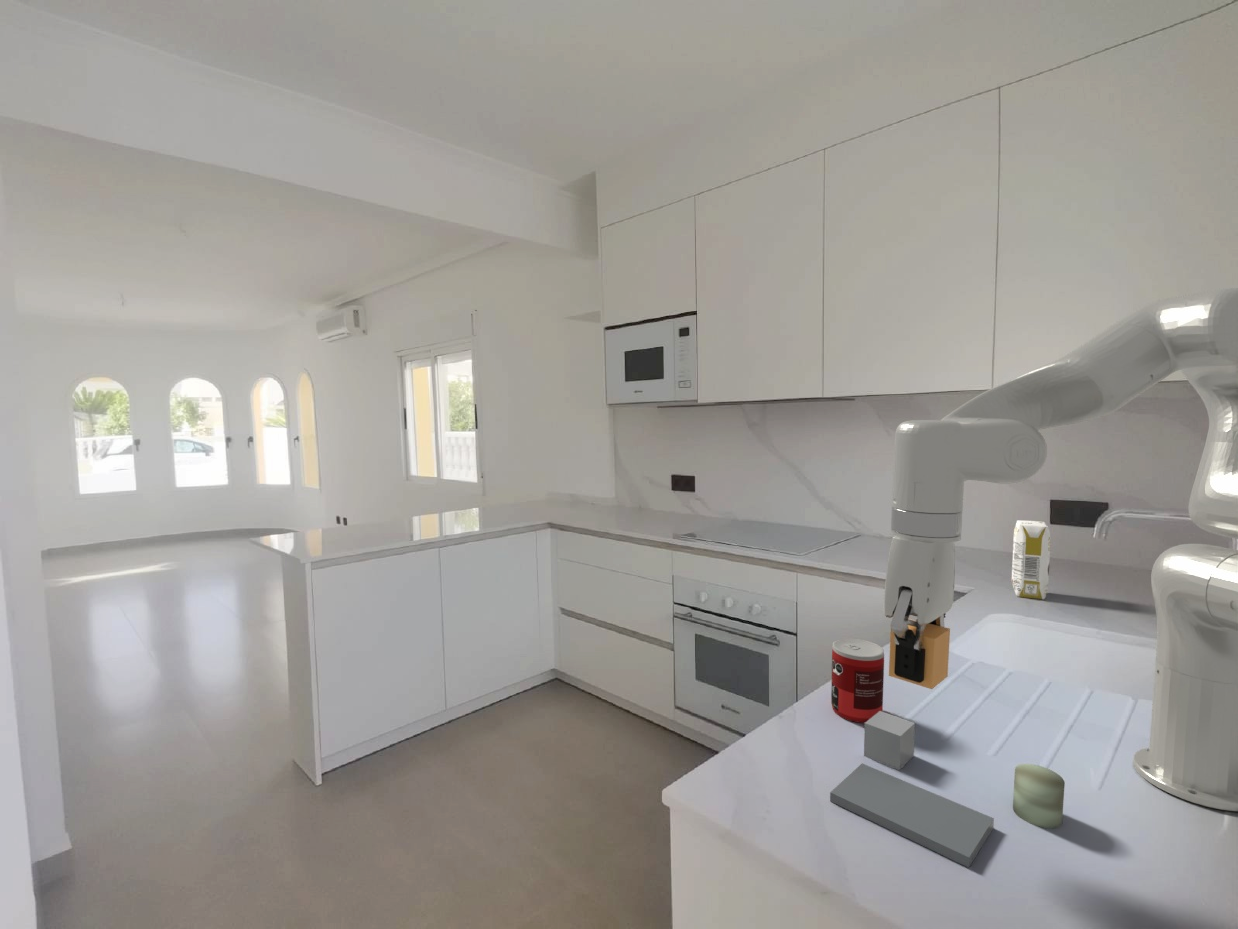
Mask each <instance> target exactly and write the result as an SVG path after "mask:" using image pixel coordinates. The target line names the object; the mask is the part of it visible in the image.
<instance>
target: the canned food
mask: <svg viewBox="0 0 1238 929" xmlns="http://www.w3.org/2000/svg"><path fill="white" fill-rule="evenodd" d="M884 672H885V651H884V649H883V647H882V646H880V645H879V644H877V643H874V642H873V641H869V640H865V639H861V638H860V639H858V638H840V639H837V640H835V641H833V642H832V648H831V688H830V689H831V690H830V691H831V694H830V696H831V697H830V698H831V699H830V702H831V708H832V710H833V712H834V713H835V714H836V715H838V716H839V717H841V718H843V719H845V720H846V721H850V722H855V723H861V724H862V723H863V724H865V722H867V721H868V720H869V719H870V718H872V717H873V716H874V715H875V714H877V713H878V712H879V711H882V712H883V711H884V710H883V707H884V706H883V705H884V704H883V703H884V680H885V679H884V676H885V673H884Z"/></svg>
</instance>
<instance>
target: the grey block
mask: <svg viewBox="0 0 1238 929" xmlns="http://www.w3.org/2000/svg"><path fill="white" fill-rule="evenodd" d="M915 725H916V724H915V722H913V721H909V720H908V719H904V718H902V717H900V716H895V715H892V714H890V713H887V712H884V711H883V710H882V711H879V712H878V713H877V714H875V715H874V716H873V717H872V718H870V719H869V720H868V721H867V722H865V723H864V734H863V735H864V739H863V740H864V741H863V756H864V757H866V758H868V759H871V760H873V761H876V762H878V763H881V764H883V765H885V766H888V767H891V768H892V769H895V770H897V771H900V770H901V769H902V768H903V767H904V766H905V765H906V764H908V762H909V761H910V760H911V759H913V757H914V755H915V734H916V732H915V731H916V730H915Z"/></svg>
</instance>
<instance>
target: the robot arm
mask: <svg viewBox="0 0 1238 929" xmlns="http://www.w3.org/2000/svg"><path fill="white" fill-rule="evenodd" d="M1177 371H1178V372H1179V371H1181V373H1182V374H1183V376H1184V377H1185V378H1186V380H1187V381H1188V383H1189V384H1190V385H1191V386H1192V387H1193V389H1194V390H1195V391H1196V393H1197V394H1198V395H1199V397H1200V399H1201V400H1202V402H1203V405H1204V406H1205V408H1206V409H1205V410H1207V411H1206V413H1207V415H1208V431H1207V436H1206V440H1205V444H1204V447H1203V451H1202V455H1201V458H1200V460H1199V461H1200V462H1199V464H1198V469H1197V472H1196V474H1195V479H1194V481H1193V485H1192V488H1191V492H1190V496H1189V500H1188V509H1187V510H1188V516H1189V518H1190V519H1191V521H1192V523H1193V524H1194V525H1195V526H1197V527H1198V528H1199V529H1201V530H1203V531H1205V532H1207V533H1211V534H1215V535H1217V536H1220V537H1221V536H1222V537H1224V538H1225V537H1226V538H1230V539H1235V540H1238V287H1229V288H1221V289H1214V290H1209V291H1205V292H1198V293H1192V294H1191V293H1190V294H1187V295H1186V294H1184V295H1179V296H1174V297H1173V296H1172V297H1170V298H1169V297H1168V298H1164V299H1163V298H1162V299H1158V300H1156V301H1152V302H1150V303H1147V304H1144V305H1142V306H1140V307H1138V308H1136V309H1135V310H1133V311H1131V312H1130V313H1129V314H1126V315H1125V316H1124V317H1122V318H1121V319H1119V320H1118V321H1116V322H1114V323H1113V324H1112V325H1109V327H1107V328H1105V329H1104V330H1102V331H1101V332H1099V333H1098V334H1096V335H1095V336H1093V337H1092V338H1091V339H1089V340H1087V341H1085V343H1083V344H1081V345H1079V346H1078V347H1077V348H1075V349H1074V350H1072V351H1071V352H1070V351H1069V352H1068V353H1067V354H1065V355H1064V356H1062V357H1061V358H1059V359H1056V360H1055V361H1052V362H1050V363H1047V364H1045V365H1043V366H1040V367H1037V368H1035V369H1033V370H1030V371H1028V372H1026V373H1024V374H1022V375H1020V376H1018V377H1015V378H1013V379H1010V380H1008V381H1005V382H1004V383H1001V384H998V385H997V386H994V387H992V388H989V389H988V390H985V391H984V392H981V393H980V394H978V395H976V396H975V397H973V398H971V399H969V400H968V401H966V402H965V403H963V404H961V405H960V406H959V407H957V408H956V409H954V410H952V411H951V412H950V413H948V414H947V415H945V416H944V417H943V418H941V419H917V420H916V419H912V420H905V421H903V422H901V423H899V424H898V426H897V427H896V429H895V433H894V444H893V445H894V448H893V451H894V452H893V468H892V469H893V472H892V492H891V493H892V494H891V495H892V496H891V518H890V519H891V520H890V534H891V535H892V537H891V538H892V539H891V542H890V547H889V553H888V558H887V565H886V573H885V582H884V594H883V604H882V606H883V607H882V610H883V611H882V612H883V614H884V616H885V617H886V618H889V619H891V618H892V619H891V622H890V630H891V629H892V631H893V632H894V634H895V644H896V648H895V670H894V672H895V675H897V676H899V677H902V678H905V679H909V680H912V681H915V682H918V683H921V682H922V681H923V680H924V667H925V649H923V648H922V644H923V637H924V631H925V625H926V624H928V623H929V624H933V625H937V626H941V627H945V618H946V613H947V612H949V611H950V609H951V608H952V606H953V602H954V594H955V581H956V580H955V579H956V578H955V577H956V575H955V574H956V572H955V570H956V558H955V557H956V556H955V555H956V554H955V552H956V551H955V549H956V548H955V542H959V541H961V540H962V525H963V524H962V523H963V508H964V507H963V506H964V490H965V488H964V487H965V482H966V481H975V482H976V481H978V482H987V483H993V484H998V485H999V484H1001V485H1003V484H1004V485H1007V484H1008V485H1009V484H1015V483H1016V484H1018V483H1020V482H1022V481H1026V480H1028V479H1030V478H1032V477H1033V476H1035V475H1036V474H1037V473H1038V472H1039V471H1040V470H1041V469H1042V468H1043V466H1044V464H1045V463H1046V460H1047V457H1048V446H1047V442H1046V440H1045V439H1044V436H1043V435H1042V433H1041V432H1040V431H1041V430H1045V429H1049V428H1050V429H1051V428H1054V427H1055V428H1056V427H1063V426H1069V425H1075V424H1079V423H1084V422H1088V421H1091V420H1095V419H1098V418H1099V419H1100V418H1102V417H1105V416H1108V415H1110V414H1112V413H1114V412H1116V411H1118V410H1119V409H1121V408H1122V407H1124V406H1126V404H1128V403H1129V402H1132V400H1134V399H1136V398H1137V397H1138V396H1140V395H1141V394H1143V393H1144V392H1146V391H1147V390H1149V389H1151V388H1152V387H1153V386H1155V385H1156V384H1158V383H1159V382H1161V381H1163V380H1165V379H1166V378H1168V377H1169V376H1171V375H1172V374H1174V373H1175V372H1177ZM1150 574H1151V575H1150V580H1151V581H1150V582H1151V591H1152V597H1153V601H1154V606H1155V607H1154V608H1155V613H1156V614H1155V615H1156V624H1157V625H1156V631H1157V633H1156V651H1155V652H1156V653H1155V661H1154V662H1155V663H1154V679H1153V680H1154V681H1153V693H1152V708H1151V718H1150V719H1151V721H1150V733H1149V734H1150V736H1149V747H1146V748H1142V749H1139V750H1137V751H1136V752H1135V753H1134V754H1133V759H1132V761H1133V762H1132V764H1133V767H1134V769H1135V770H1136V772H1137V773H1138V774H1139V775H1140V776H1141V777H1142V778H1144V780H1146V781H1147V782H1149V783H1150V784H1151V785H1153V786H1154V787H1156V788H1159V789H1160V790H1162V791H1164V792H1166V793H1169V794H1170V795H1173V796H1174V797H1177V798H1180V799H1182V800H1185V801H1186V802H1187V801H1188V802H1191V803H1193V804H1197V805H1199V806H1203V807H1207V808H1211V809H1217V810H1222V811H1228V812H1238V549H1234V548H1229V547H1223V546H1219V545H1213V544H1212V545H1211V544H1208V543H1207V544H1205V543H1182V544H1178V545H1175V546H1174V545H1173V546H1171V547H1169V548H1168V549H1165V550H1164V551H1163V552H1162V553H1160V554H1159V556H1158V557H1157V558H1156V559H1155V561H1154V563H1153V566H1152V569H1151V573H1150ZM910 616H913V617H916V618H917V619H912V620H909V619H910ZM914 620H916V621H914ZM908 625H911V626H915V627H917V628H916V634H915V635H914V633H913V631H912V630H910V629H908ZM945 628H946V627H945Z"/></svg>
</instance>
